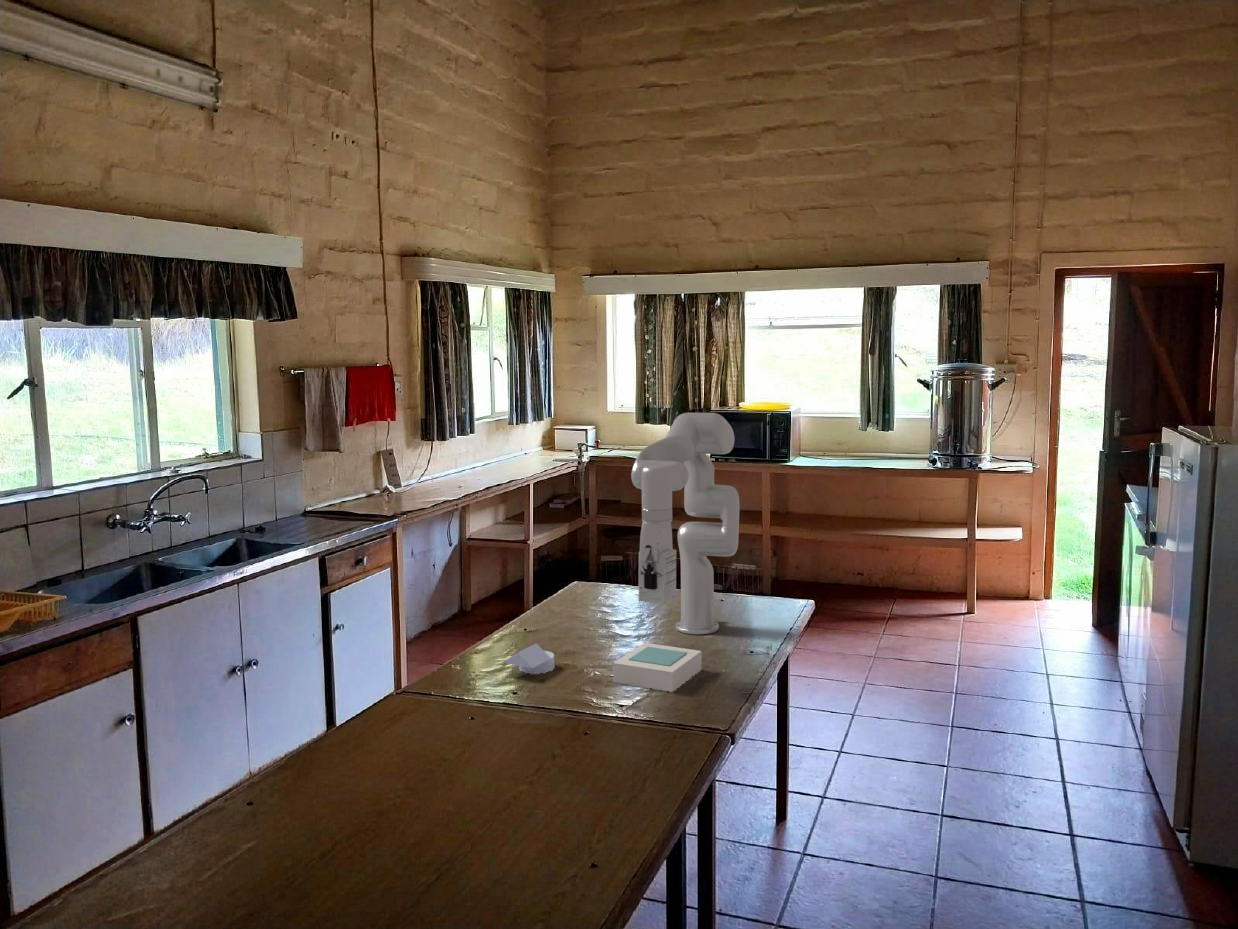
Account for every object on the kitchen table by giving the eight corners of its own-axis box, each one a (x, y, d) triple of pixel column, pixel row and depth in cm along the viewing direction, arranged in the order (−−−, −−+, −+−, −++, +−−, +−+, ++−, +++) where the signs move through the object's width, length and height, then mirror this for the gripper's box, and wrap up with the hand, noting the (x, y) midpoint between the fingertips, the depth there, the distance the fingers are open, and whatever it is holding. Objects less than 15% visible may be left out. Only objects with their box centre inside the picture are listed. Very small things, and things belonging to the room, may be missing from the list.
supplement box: (637, 601, 243) (637, 551, 241) (650, 594, 249) (650, 546, 248) (664, 605, 239) (664, 554, 238) (677, 598, 246) (677, 548, 244)
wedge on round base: (533, 681, 244) (561, 666, 255) (532, 655, 243) (560, 641, 255) (503, 675, 249) (532, 660, 260) (502, 650, 248) (531, 636, 259)
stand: (645, 661, 258) (644, 641, 258) (701, 669, 251) (701, 649, 250) (613, 682, 242) (613, 661, 242) (672, 692, 235) (672, 671, 234)
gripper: (658, 508, 251) (658, 576, 253) (627, 520, 236) (628, 591, 238) (685, 510, 248) (685, 579, 250) (655, 522, 232) (656, 595, 234)
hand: (657, 584), depth 244 cm, fingers closed on supplement box, 7 cm apart
